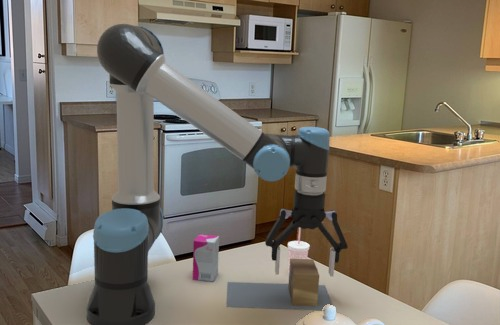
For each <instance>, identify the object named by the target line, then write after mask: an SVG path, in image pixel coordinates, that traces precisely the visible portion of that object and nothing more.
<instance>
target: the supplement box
mask: <svg viewBox="0 0 500 325" xmlns="http://www.w3.org/2000/svg"><path fill="white" fill-rule="evenodd" d="M219 245H220V236H219V235H211V234H202V233H201V234H198V235H197V236H196V238H195V239H194V240H193V246H192V247H193V248H192V249H193V250H192V253H193V255H192V280H193V281H200V282H205V283H206V282H208V283H214V282H215V280H216V278H217V277H218V275H219V255H220V254H219V252H220V251H219V249H220V246H219Z"/></svg>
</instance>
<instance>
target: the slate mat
mask: <svg viewBox="0 0 500 325" xmlns="http://www.w3.org/2000/svg"><path fill="white" fill-rule="evenodd" d="M226 283H227V284H226V286H227V288H226V308H237V309H241V308H242V309H266V310H267V309H269V310H271V309H272V310H300V311H301V310H303V311H323V310H322V309H323V307H324V306H325V305H327V304H330V305H333V303H332V300H331V296H330V294H329V293H328V290H327V286H326V285H324V284H319V286H318V298H317V306H296V305H292V302H291V297H290V293H289V288H288V284H289V283H271V282H267V283H266V282H244V281H243V282H239V281H227V282H226Z"/></svg>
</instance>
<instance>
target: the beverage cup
mask: <svg viewBox="0 0 500 325" xmlns="http://www.w3.org/2000/svg"><path fill="white" fill-rule="evenodd" d="M301 230H302V229H301V228H300V227H298V236H297V237H298V238H297V240H292V241H288V242H287V249H288V253H287V254H288V257H287V258H288V260H287V261H288V264H287V266H288V268H287V269H288V270H287V272H288V274H289V269H290V259H308V255H309V250H310V247H311V245H310V244H309V243H307V242H306V241H302V240H301Z"/></svg>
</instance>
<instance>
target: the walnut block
mask: <svg viewBox="0 0 500 325" xmlns="http://www.w3.org/2000/svg"><path fill="white" fill-rule="evenodd" d="M319 283H320V274H319V270H318V268H317V265H316V263H315V261H314V259H313V258H312V259H310V258H309V259H308V258H307V259H290V269H289V273H288V283H287V284H288V288H289V293H290V297H291V302H292V305H296V306H317V298H318V286H319V285H320V284H319Z"/></svg>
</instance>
